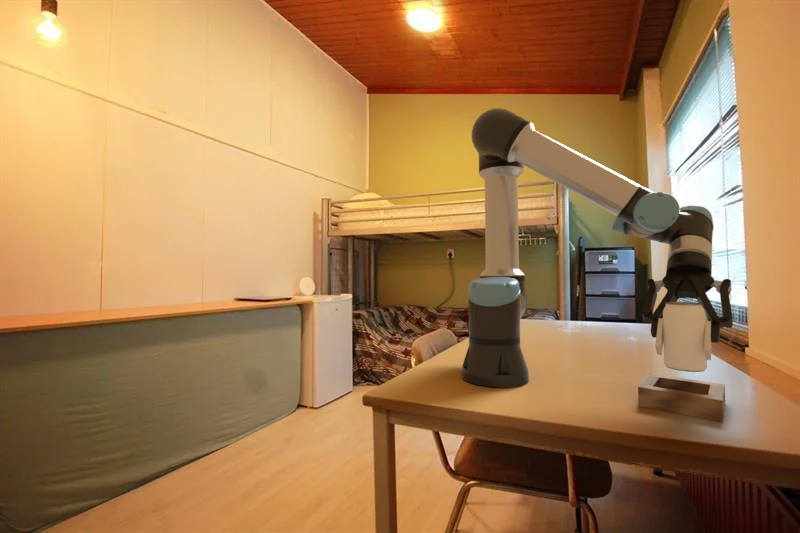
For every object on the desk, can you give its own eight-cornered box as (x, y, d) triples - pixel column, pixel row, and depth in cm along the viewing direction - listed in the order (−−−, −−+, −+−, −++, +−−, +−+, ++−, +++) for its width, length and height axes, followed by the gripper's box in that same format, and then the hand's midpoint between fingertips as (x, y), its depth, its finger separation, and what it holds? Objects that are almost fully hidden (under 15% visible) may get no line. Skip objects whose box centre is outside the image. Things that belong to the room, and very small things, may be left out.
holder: (638, 405, 72) (638, 386, 72) (649, 390, 81) (649, 373, 81) (722, 422, 64) (722, 400, 64) (725, 403, 73) (724, 384, 73)
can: (715, 373, 68) (713, 304, 69) (674, 371, 70) (672, 304, 70) (695, 364, 75) (693, 301, 75) (657, 363, 76) (656, 301, 76)
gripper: (751, 274, 78) (755, 373, 65) (638, 275, 90) (624, 357, 78) (750, 246, 74) (755, 346, 61) (633, 251, 86) (617, 334, 74)
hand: (682, 352), depth 70 cm, fingers closed on can, 6 cm apart
